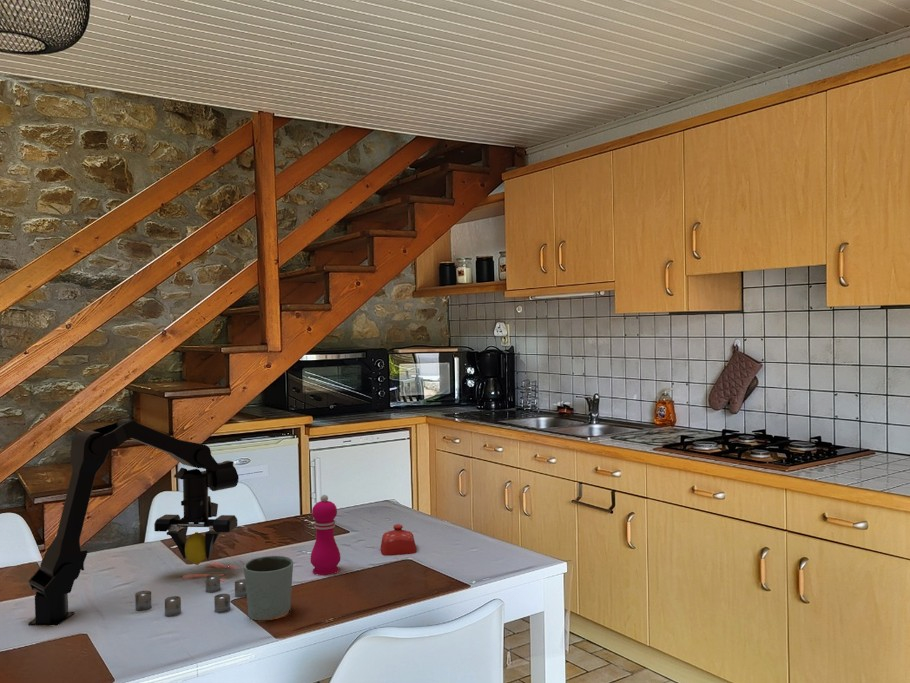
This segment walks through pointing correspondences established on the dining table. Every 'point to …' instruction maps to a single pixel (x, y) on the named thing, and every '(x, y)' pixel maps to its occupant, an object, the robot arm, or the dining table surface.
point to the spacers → (175, 601)
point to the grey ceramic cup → (268, 586)
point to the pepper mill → (325, 538)
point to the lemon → (195, 548)
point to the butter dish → (398, 542)
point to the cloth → (216, 565)
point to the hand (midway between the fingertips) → (196, 558)
